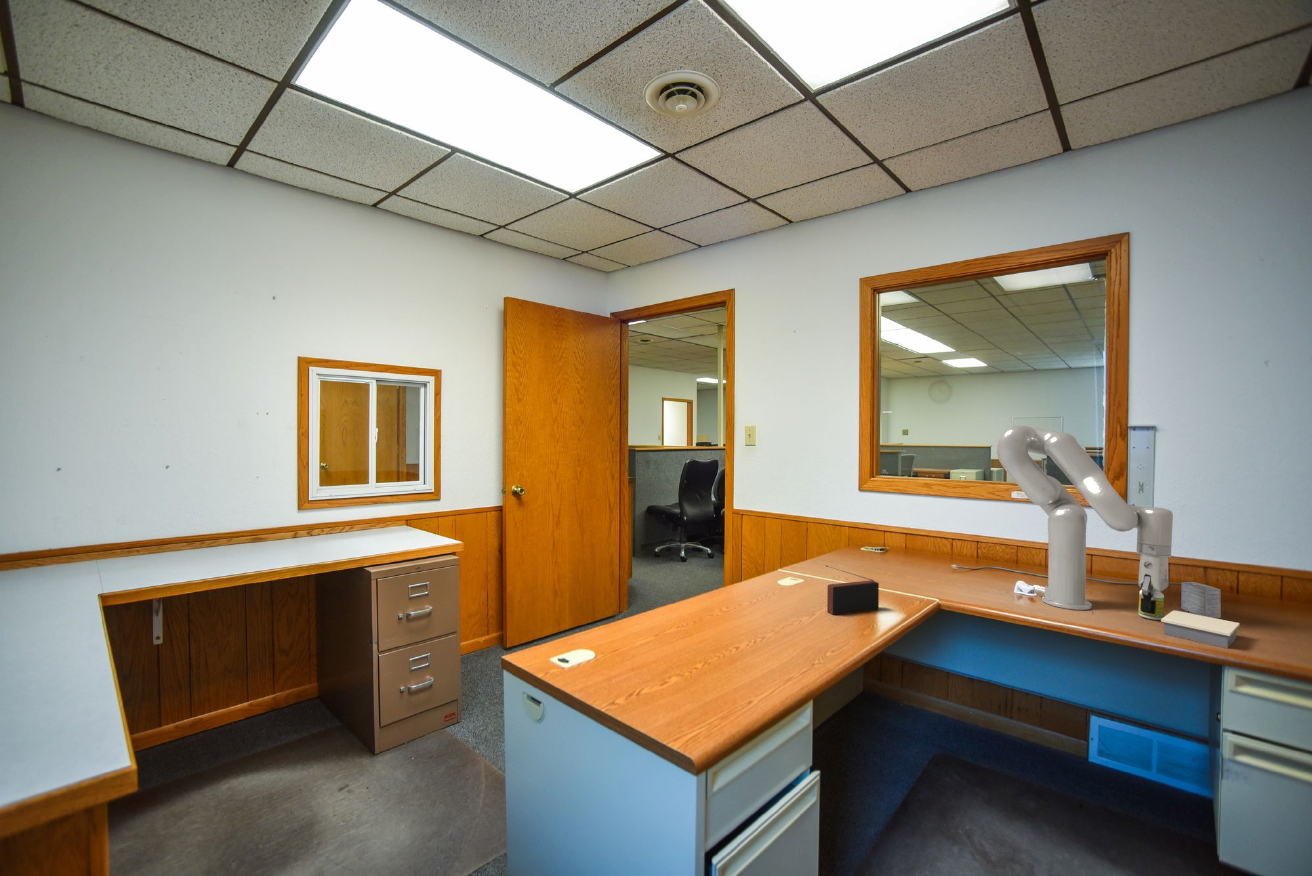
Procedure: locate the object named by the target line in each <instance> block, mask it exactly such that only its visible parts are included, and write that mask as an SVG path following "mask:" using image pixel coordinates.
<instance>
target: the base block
mask: <svg viewBox="0 0 1312 876" xmlns="http://www.w3.org/2000/svg"><path fill="white" fill-rule="evenodd" d="M1160 622H1162V623H1163V634H1164V635H1166V634H1168V635H1167V636H1170V635H1171V636H1172V637H1175V636H1177V637H1176V638H1179V637H1183V638H1185V640H1188V639H1191V640H1190V641H1192V640H1193V641H1192V642H1197V641H1198V643H1201V644H1205V643H1206V645H1210V646H1211V645H1212V646H1215V647H1220V648H1222V649H1223V648H1224V649H1228V648H1229V647H1230V646H1231V645H1232V644H1233V643H1234V641H1235V640H1237V632H1238V631H1237V629H1238V628H1239V627H1240V626H1241V625H1240V624H1241V623H1240V622H1235V621H1229V620H1224V619H1222V618H1221V619H1220V618H1211V617H1206V616H1201V615H1197V614H1194V613H1191V612H1187V611H1180V610H1175V609H1173V610H1172V611H1170V612H1169V613H1168V614H1166V615H1164V616H1163V618H1162V619H1161V620H1160ZM1171 636H1170V637H1171ZM1183 638H1182V639H1183Z"/></svg>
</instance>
